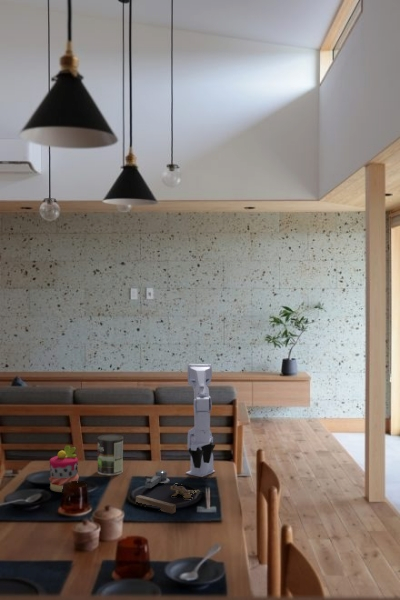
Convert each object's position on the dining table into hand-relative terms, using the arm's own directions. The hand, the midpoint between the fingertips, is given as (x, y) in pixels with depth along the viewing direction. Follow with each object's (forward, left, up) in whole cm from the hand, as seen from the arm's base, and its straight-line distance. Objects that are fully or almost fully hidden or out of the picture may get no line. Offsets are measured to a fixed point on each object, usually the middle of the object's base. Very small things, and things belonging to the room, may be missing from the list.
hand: (201, 465), depth 248 cm
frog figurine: (+11, 0, -9) cm, 14 cm away
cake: (+31, -41, -9) cm, 52 cm away
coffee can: (+6, -41, -9) cm, 42 cm away
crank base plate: (+3, -17, -8) cm, 19 cm away
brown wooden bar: (+27, 0, -8) cm, 29 cm away
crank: (+8, -16, -8) cm, 19 cm away
